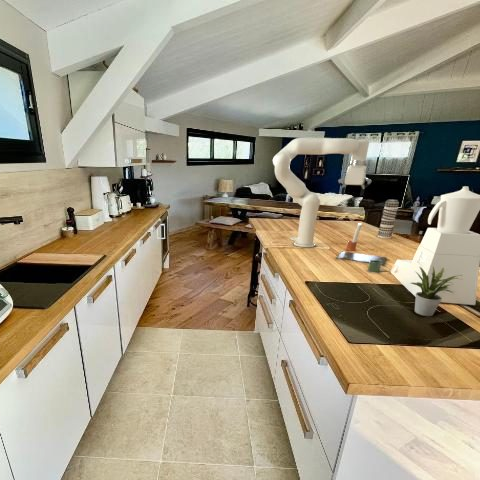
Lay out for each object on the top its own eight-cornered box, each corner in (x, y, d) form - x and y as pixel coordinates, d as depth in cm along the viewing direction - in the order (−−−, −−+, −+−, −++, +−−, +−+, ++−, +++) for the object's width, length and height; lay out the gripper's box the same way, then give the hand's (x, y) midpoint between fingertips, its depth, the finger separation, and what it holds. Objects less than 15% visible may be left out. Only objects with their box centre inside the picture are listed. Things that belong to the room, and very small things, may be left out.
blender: (387, 273, 145) (409, 182, 130) (433, 276, 141) (461, 183, 126) (416, 301, 115) (449, 188, 101) (474, 306, 111) (518, 189, 96)
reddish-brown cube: (345, 250, 184) (347, 241, 182) (347, 248, 188) (348, 240, 186) (354, 251, 182) (356, 242, 180) (355, 249, 185) (357, 241, 183)
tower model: (391, 238, 212) (400, 200, 202) (376, 237, 216) (384, 200, 207) (392, 236, 219) (401, 199, 210) (377, 235, 223) (385, 198, 214)
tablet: (336, 259, 166) (336, 257, 166) (342, 252, 179) (342, 251, 178) (383, 266, 155) (383, 264, 154) (386, 258, 167) (386, 257, 167)
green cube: (367, 272, 147) (369, 261, 145) (368, 269, 150) (371, 259, 148) (378, 273, 144) (381, 263, 142) (379, 271, 148) (382, 261, 146)
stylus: (349, 248, 184) (357, 223, 178) (349, 248, 186) (358, 223, 180) (352, 249, 183) (361, 224, 177) (353, 249, 185) (361, 224, 179)
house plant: (454, 328, 96) (472, 278, 90) (401, 317, 103) (414, 270, 97) (449, 311, 107) (464, 266, 101) (401, 302, 114) (413, 259, 108)
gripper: (375, 163, 175) (369, 195, 181) (342, 163, 184) (337, 194, 190) (374, 163, 169) (367, 196, 175) (339, 163, 178) (334, 194, 184)
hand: (351, 195), depth 183 cm, fingers open, 9 cm apart
